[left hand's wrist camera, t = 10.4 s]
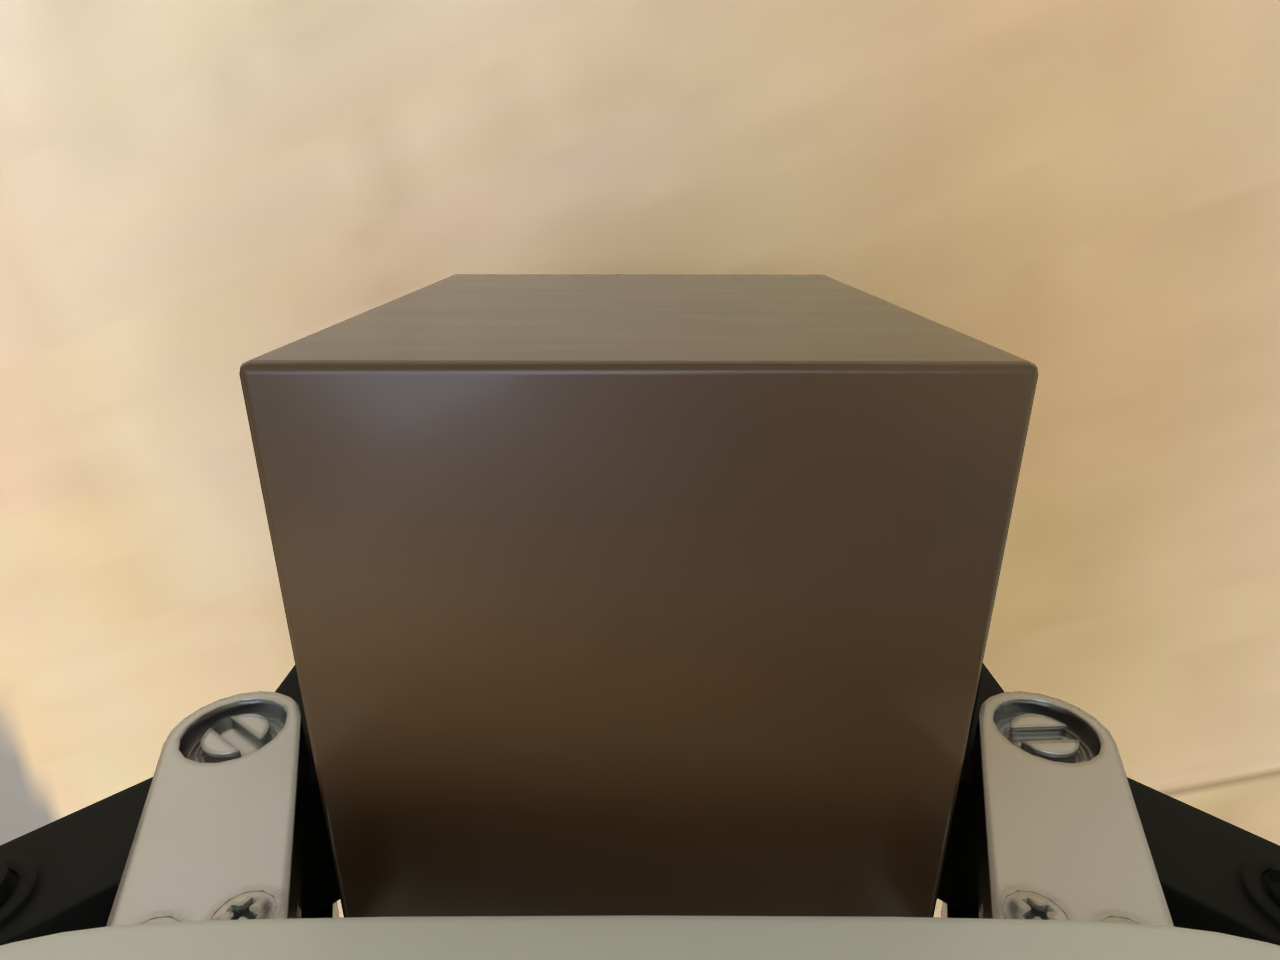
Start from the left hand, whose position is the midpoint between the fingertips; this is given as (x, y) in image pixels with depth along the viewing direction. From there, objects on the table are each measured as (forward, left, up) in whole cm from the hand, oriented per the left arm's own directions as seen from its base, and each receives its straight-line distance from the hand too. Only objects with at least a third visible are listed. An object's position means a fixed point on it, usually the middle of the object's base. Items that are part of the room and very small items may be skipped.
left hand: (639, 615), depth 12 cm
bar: (+20, +4, -2) cm, 21 cm away
